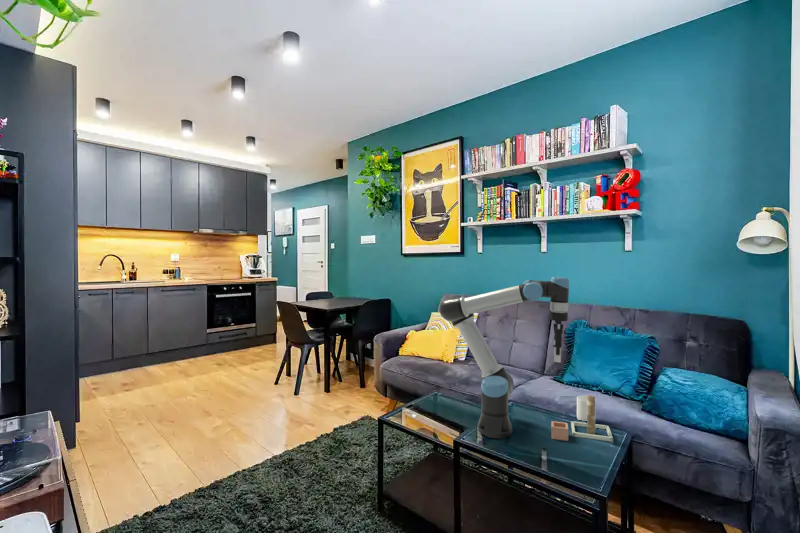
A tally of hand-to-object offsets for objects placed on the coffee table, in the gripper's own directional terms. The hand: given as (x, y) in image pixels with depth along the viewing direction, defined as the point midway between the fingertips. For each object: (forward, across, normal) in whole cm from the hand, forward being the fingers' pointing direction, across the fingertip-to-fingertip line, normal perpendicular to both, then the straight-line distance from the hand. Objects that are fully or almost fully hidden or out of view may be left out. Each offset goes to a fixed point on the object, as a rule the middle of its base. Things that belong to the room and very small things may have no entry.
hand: (557, 358), depth 180 cm
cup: (+32, +15, -15) cm, 38 cm away
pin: (+31, -1, -15) cm, 34 cm away
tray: (+32, -1, -15) cm, 35 cm away
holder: (+32, -10, -2) cm, 34 cm away
